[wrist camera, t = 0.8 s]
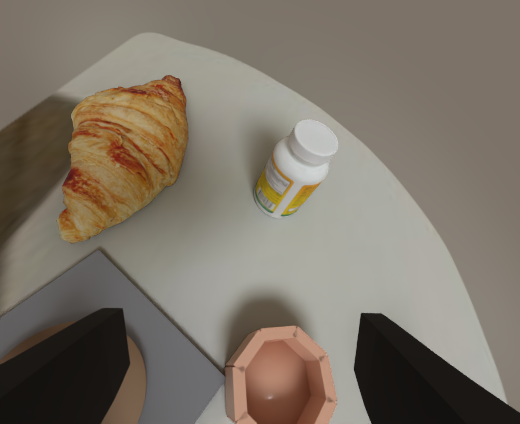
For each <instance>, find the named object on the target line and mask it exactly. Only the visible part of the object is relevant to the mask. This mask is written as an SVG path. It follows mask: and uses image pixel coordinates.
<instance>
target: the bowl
mask: <svg viewBox="0 0 520 424" xmlns="http://www.w3.org/2000/svg"><path fill="white" fill-rule="evenodd" d="M226 366H227V367H225V377H226V380H225V398H226V414H227V415H228V416H227V417H228V418H229V419H230V420H231V421H232V422H233V423H234V424H328V423H329V421H330V419H331V417H332V414H333V412H334V410H335V408H336V405H337V404H336V403H335V402H336V401H337V397H336V392H335V387H334V382H333V378H332V373H331V368H330V363H329V358H328V355H326V352H325V351H324V350H323V349H322V348H321V347H320V346H319V345H318V344H317V343H315V342H314V341H313V340H312V339H311V338H310V337H309V336H308V335H307V334H306V333H305V332H304V331H303V330H301V329H300V328H299V327H298V326H297V327H296V326H285V327H273V328H261V329H259V330H256V331H254V332H251V333H250V334H248V335H247V337H246V338H245V339H244V341H243V342H242V343H241V345H240V346H239V347H238V349H237V350H236V351H235V353H234V354H233V355H232V357H231V358H230V359H229V361H228V362H227V363H226Z"/></svg>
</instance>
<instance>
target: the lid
mask: <svg viewBox="0 0 520 424" xmlns="http://www.w3.org/2000/svg"><path fill="white" fill-rule="evenodd" d="M75 322H77V321H71V322H66V323H62V324H58V325H55V326H52V327H50V328H47V329H45V330H43V331H41V332H38V333H36V334H35V335H33V336H31V337H29V338H28V339H26V340H25V341H23V342H22V343H20V344H19V345H17V346H16V347H15V348H13V349H12V350H11V351H10V352H9V353H8V354H6V355H5V356H4V357H3V358H2V359H1V360H0V364H2V363H4V362H6V361H8V360H9V359H11V358H13V357H15V356H17V355H19V354H20V353H22V352H24V351H26V350H27V349H29V348H31V347H33V346H34V345H36V344H38V343H40V342H41V341H43V340H45V339H47V338H48V337H50V336H52V335H54V334H56V333H57V332H59V331H61V330H63V329H64V328H66V327H68V326H70V325H71V324H73V323H75ZM127 342H128V350H129V357H130V366H129V368H128V371H127V373H126V375H125V378H124V380H123V382H122V384H121V387H120V389H119V391H118V393H117V395H116V397H115V400H114V402H113V403H112V405H111V407H110V409H109V410H108V412H107V414H106V416H105V417H104V419H103V421H102V423H101V424H138V421H139V418H140V416H141V413H142V410H143V406H144V402H145V396H146V388H147V377H146V368H145V364H144V360H143V358H142V355H141V352H140V351H139V349H138V347H137V346H136V344H135V343H134V342H133V340H132V339H131V338H130V337H129V336H127Z"/></svg>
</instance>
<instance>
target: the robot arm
mask: <svg viewBox="0 0 520 424" xmlns="http://www.w3.org/2000/svg"><path fill="white" fill-rule="evenodd" d="M129 366H130V357H129V350H128V342H127V335H126V327H125V320H124V312H123V308H101V309H99V310H97V311H95V312H93V313H91V314H89V315H88V316H86V317H84V318H82V319H80V320H78V321H77V322H75V323H73V324H71V325H70V326H68V327H66V328H64V329H63V330H61V331H59V332H57V333H56V334H54V335H52V336H50V337H48V338H47V339H45V340H43V341H41V342H40V343H38V344H36V345H34V346H33V347H31V348H29V349H27V350H26V351H24V352H22V353H20V354H19V355H17V356H15V357H13V358H11V359H9V360H8V361H6V362H4V363H2V364H0V424H101V423H102V421H103V419H104V417H105V416H106V414H107V412H108V410H109V409H110V407H111V405H112V403H113V402H114V400H115V397H116V395H117V393H118V391H119V389H120V387H121V384H122V382H123V380H124V378H125V375H126V373H127V371H128V368H129ZM354 371H355V375H356V378H357V382H358V386H359V389H360V392H361V396H362V399H363V402H364V406H365V408H366V411H367V413H368V416H369V419H370V421H371V423H372V424H520V413H519V412H518V411H516V410H515V409H513V408H512V407H510V406H509V405H507V404H506V403H504V402H503V401H502V400H500V399H499V398H497V397H496V396H494V395H493V394H491V393H490V392H488V391H487V390H485V389H484V388H483V387H481V386H480V385H478V384H477V383H475V382H474V381H473V380H471V379H470V378H468V377H467V376H465V375H464V374H463V373H461V372H460V371H459V370H457V369H456V368H454V367H453V366H452V365H450V364H449V363H448V362H446V361H445V360H444V359H442V358H441V357H439V356H438V355H437V354H435V353H434V352H433V351H431V350H430V349H429V348H427V347H426V346H425V345H423V344H422V343H421V342H420V341H418V340H417V339H416V338H414V337H413V336H412V335H410V334H409V333H408V332H406V331H405V330H404V329H402V328H401V327H400V326H398V325H397V324H396V323H394V322H393V321H392V320H390V319H389V318H387V317H386V316H384V315H383V314H381V313H361V317H360V325H359V333H358V340H357V348H356V356H355V363H354Z"/></svg>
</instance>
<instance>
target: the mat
mask: <svg viewBox="0 0 520 424" xmlns="http://www.w3.org/2000/svg"><path fill="white" fill-rule="evenodd" d="M101 308H123V312H124V320H125V327H126V335H127V336H129V337H130V338H131V339H132V340H133V342H134V343H135V344H136V346H137V347H138V349H139V351H140V352H141V355H142V358H143V360H144V364H145V368H146V377H147V388H146V396H145V402H144V406H143V410H142V413H141V416H140V418H139V421H138V424H194V423H195V422H196V420H197V419H198V418H199V416H200V415H201V413H202V412H203V411H204V409H205V408H206V406H207V405H208V404H209V402H210V401H211V400H212V398H213V397H214V395H215V394H216V393H217V391H218V390H219V388H220V387H221V386H222V384H223V383H224V381H225V380H226V377H225V376H224V375H223V374H222V373H221V372H220V371H219V370H218V369H217V368H216V367H215V366H214V365H213V364H212V363H211V362H210V361H209V360H208V359H207V358H206V357H205V356H204V355H203V354H202V353H201V352H200V351H199V350H198V349H197V348H196V347H195V346H194V345H193V344H192V343H191V342H190V341H189V340H188V339H187V338H186V337H185V336H184V335H183V334H182V333H181V332H180V331H179V330H178V329H177V328H176V327H175V326H174V325H173V324H172V323H171V322H170V321H169V320H168V319H167V318H166V317H165V316H164V315H163V314H162V313H161V312H160V311H159V310H158V309H157V308H156V307H155V306H154V305H153V304H152V303H151V302H150V301H149V300H148V299H147V298H146V297H145V296H144V295H143V294H142V293H141V292H140V291H139V290H138V289H137V288H136V287H135V286H134V285H133V284H132V283H131V282H130V281H129V280H128V279H127V278H126V277H125V276H124V275H123V274H122V273H121V272H120V271H119V270H118V269H117V268H116V267H115V266H114V265H113V264H112V263H111V262H110V261H109V260H108V259H107V257H106V256H105V255H104V254H103V253H102V252H101V251H100V250H99V249H98V250H97V251H95V252H94V253H92V254H91V255H90V256H88V257H87V258H85V259H84V260H82V261H81V262H80V263H78V264H77V265H75V266H74V267H72V268H71V269H69V270H68V271H67V272H65V273H64V274H62V275H61V276H59V277H58V278H57V279H55V280H54V281H52V282H51V283H49V284H48V285H47V286H45V287H44V288H42V289H41V290H39V291H38V292H36V293H35V294H34V295H32V296H31V297H29V298H28V299H26V300H25V301H24V302H22V303H21V304H19V305H18V306H16V307H15V308H13V309H12V310H11V311H9V312H8V313H6V314H5V315H3V316H2V317H1V318H0V360H1V359H2V358H3V357H4V356H5V355H6V354H8V353H9V352H10V351H11V350H12V349H13V348H15V347H16V346H17V345H19V344H20V343H22V342H23V341H25V340H26V339H28V338H29V337H31V336H33V335H35V334H36V333H38V332H41V331H43V330H45V329H47V328H50V327H52V326H55V325H58V324H62V323H66V322H71V321H78V320H80V319H82V318H84V317H86V316H88V315H89V314H91V313H93V312H95V311H97V310H99V309H101Z"/></svg>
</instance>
